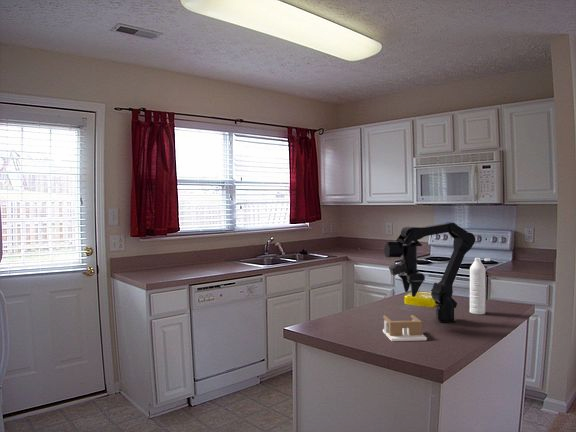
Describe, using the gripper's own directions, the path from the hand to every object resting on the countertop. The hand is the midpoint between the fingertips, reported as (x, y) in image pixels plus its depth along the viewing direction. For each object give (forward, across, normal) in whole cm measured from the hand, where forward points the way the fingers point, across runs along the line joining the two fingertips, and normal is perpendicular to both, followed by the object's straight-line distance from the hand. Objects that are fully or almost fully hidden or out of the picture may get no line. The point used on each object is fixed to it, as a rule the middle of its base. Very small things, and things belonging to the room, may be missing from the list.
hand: (409, 294), depth 182 cm
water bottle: (+12, -12, +36) cm, 40 cm away
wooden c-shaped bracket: (+11, +15, -8) cm, 20 cm away
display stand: (+12, +17, -8) cm, 22 cm away
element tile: (+13, -34, +18) cm, 41 cm away
